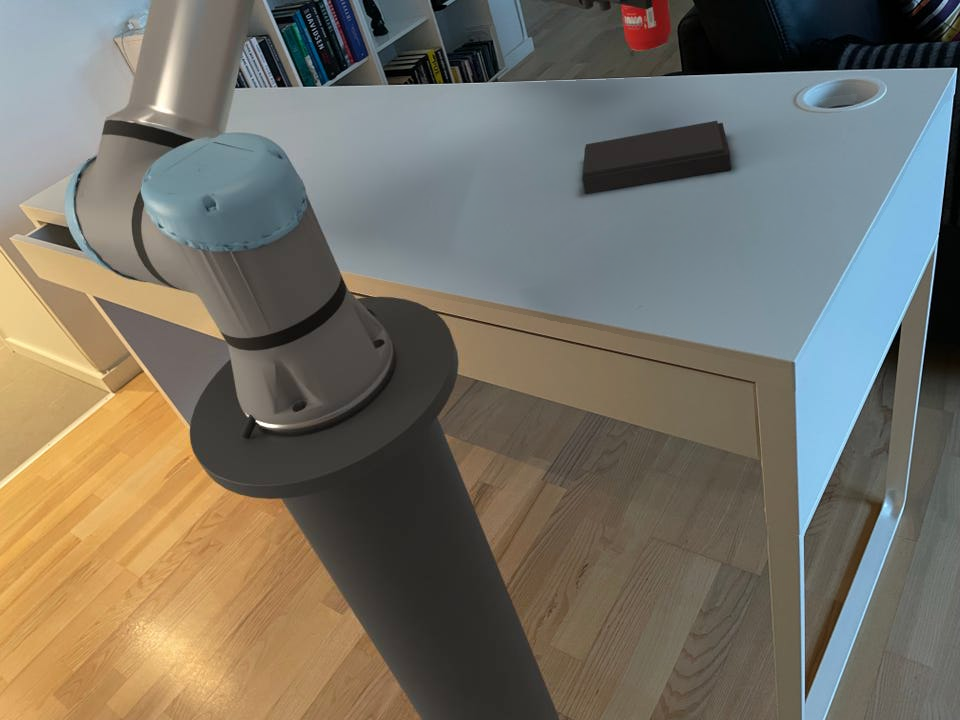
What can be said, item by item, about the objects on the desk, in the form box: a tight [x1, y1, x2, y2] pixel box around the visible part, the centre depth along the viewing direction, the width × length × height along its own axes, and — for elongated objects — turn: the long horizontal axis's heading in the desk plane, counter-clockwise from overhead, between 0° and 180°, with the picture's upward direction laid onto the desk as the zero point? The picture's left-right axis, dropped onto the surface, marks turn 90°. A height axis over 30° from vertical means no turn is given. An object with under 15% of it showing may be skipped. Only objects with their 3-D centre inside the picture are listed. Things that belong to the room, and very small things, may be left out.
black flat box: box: [581, 120, 732, 194], centre depth 88 cm, size 16×8×2 cm, turn 82°
